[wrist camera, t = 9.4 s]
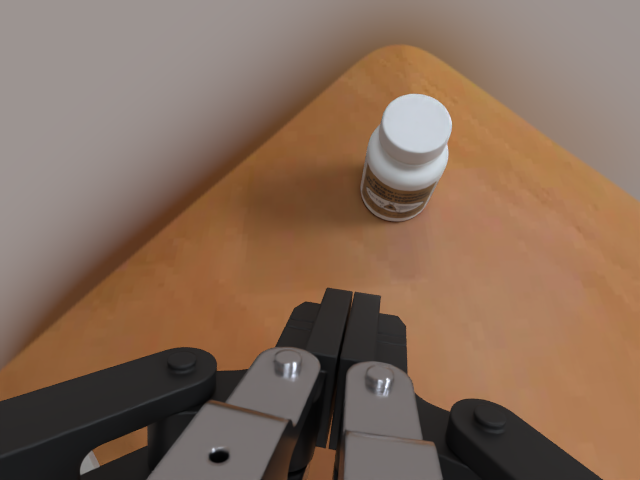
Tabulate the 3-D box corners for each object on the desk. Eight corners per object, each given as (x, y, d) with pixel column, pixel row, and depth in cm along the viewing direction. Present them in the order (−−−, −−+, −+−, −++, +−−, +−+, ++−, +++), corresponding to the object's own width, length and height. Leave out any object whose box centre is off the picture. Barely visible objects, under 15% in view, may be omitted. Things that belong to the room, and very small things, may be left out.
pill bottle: (354, 215, 30) (364, 151, 23) (367, 155, 31) (381, 77, 24) (423, 230, 29) (456, 170, 22) (433, 168, 31) (467, 93, 24)
